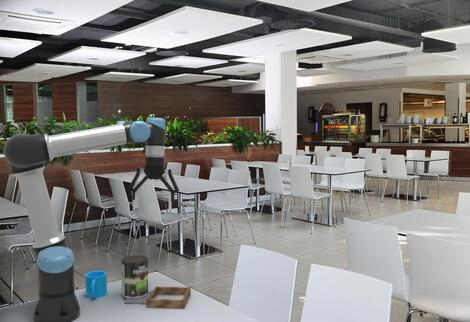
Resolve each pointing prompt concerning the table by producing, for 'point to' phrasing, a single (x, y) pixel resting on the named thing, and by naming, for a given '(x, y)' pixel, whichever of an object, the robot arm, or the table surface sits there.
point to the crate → (168, 303)
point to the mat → (137, 300)
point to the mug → (96, 284)
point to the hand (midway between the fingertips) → (153, 209)
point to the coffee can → (134, 276)
